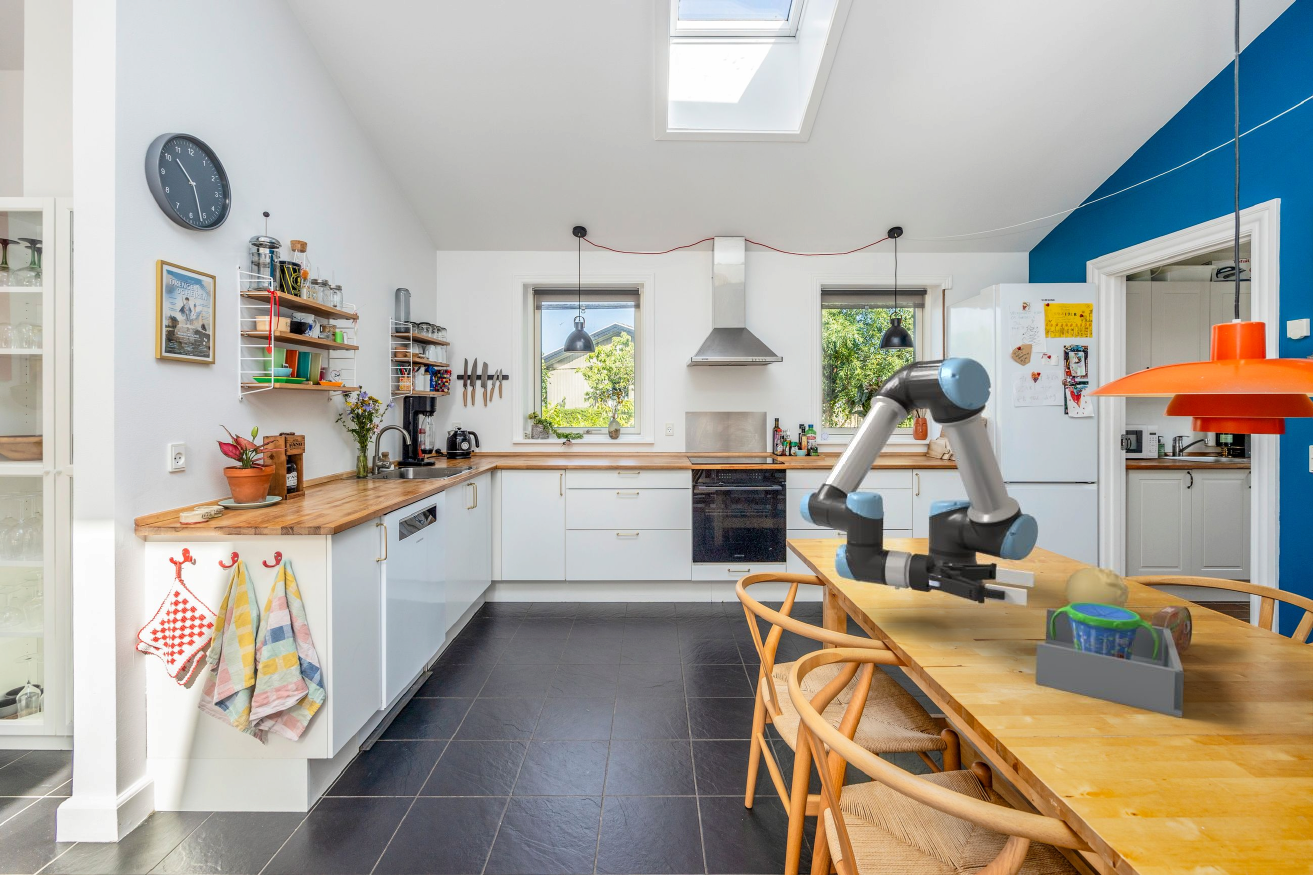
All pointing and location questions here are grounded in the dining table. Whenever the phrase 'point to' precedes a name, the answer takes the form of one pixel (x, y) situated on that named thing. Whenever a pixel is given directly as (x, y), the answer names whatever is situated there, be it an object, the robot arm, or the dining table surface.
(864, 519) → the robot arm
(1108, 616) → the snack cup
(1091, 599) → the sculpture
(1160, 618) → the tin
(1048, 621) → the bin
